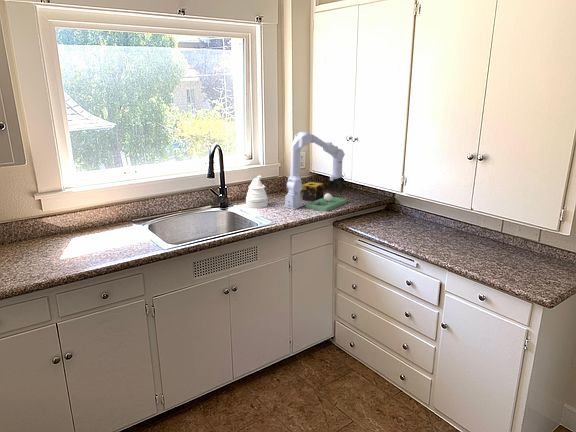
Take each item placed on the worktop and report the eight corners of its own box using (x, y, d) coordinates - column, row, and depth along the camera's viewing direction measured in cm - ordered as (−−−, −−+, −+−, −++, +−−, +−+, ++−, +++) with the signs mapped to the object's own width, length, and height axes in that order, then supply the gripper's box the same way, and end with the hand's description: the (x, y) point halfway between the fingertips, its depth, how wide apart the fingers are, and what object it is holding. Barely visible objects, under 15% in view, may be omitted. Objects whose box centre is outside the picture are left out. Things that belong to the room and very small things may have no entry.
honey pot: (269, 202, 264) (268, 174, 259) (265, 208, 252) (265, 178, 247) (248, 202, 266) (247, 173, 260) (244, 208, 253) (243, 178, 248)
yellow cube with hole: (323, 198, 273) (324, 183, 270) (316, 202, 265) (316, 186, 262) (309, 196, 278) (309, 181, 275) (301, 200, 270) (302, 184, 267)
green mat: (326, 211, 245) (326, 208, 245) (306, 207, 253) (306, 204, 253) (346, 202, 264) (346, 199, 263) (327, 198, 272) (327, 195, 271)
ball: (329, 202, 255) (329, 194, 254) (322, 201, 258) (322, 193, 257) (333, 201, 259) (333, 193, 258) (326, 199, 262) (326, 191, 261)
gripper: (337, 170, 253) (336, 193, 258) (349, 167, 265) (348, 188, 269) (326, 169, 258) (326, 191, 262) (339, 165, 269) (338, 186, 273)
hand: (336, 189), depth 265 cm, fingers open, 7 cm apart
